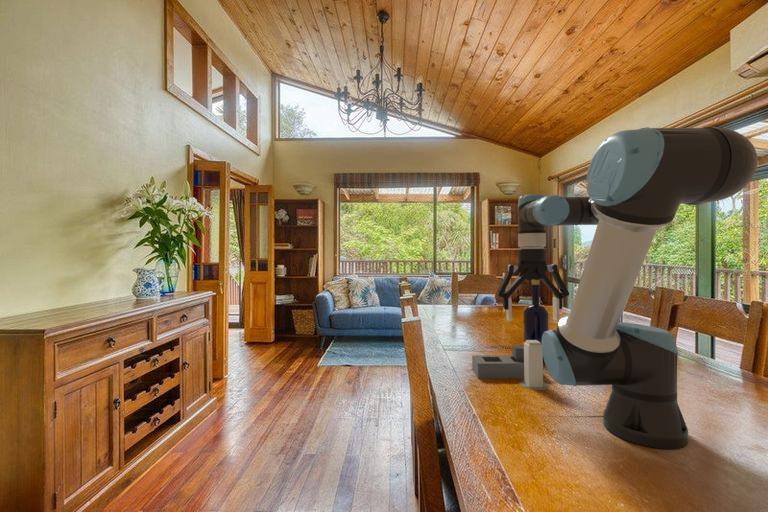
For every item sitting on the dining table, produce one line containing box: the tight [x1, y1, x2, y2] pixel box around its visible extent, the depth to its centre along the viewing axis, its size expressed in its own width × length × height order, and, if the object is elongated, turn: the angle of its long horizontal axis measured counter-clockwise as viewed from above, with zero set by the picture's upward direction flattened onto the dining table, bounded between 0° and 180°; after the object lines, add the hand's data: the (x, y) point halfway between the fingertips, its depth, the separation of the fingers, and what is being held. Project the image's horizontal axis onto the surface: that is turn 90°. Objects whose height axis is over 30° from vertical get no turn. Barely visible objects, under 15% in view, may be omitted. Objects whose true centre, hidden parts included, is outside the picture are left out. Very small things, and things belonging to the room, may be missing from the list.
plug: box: [523, 340, 544, 387], centre depth 108 cm, size 4×4×13 cm
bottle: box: [523, 279, 549, 365], centre depth 132 cm, size 9×9×30 cm
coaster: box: [518, 379, 549, 391], centre depth 108 cm, size 8×8×1 cm
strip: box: [471, 344, 524, 379], centre depth 118 cm, size 10×20×9 cm, turn 88°
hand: (532, 320), depth 108 cm, fingers open, 13 cm apart
